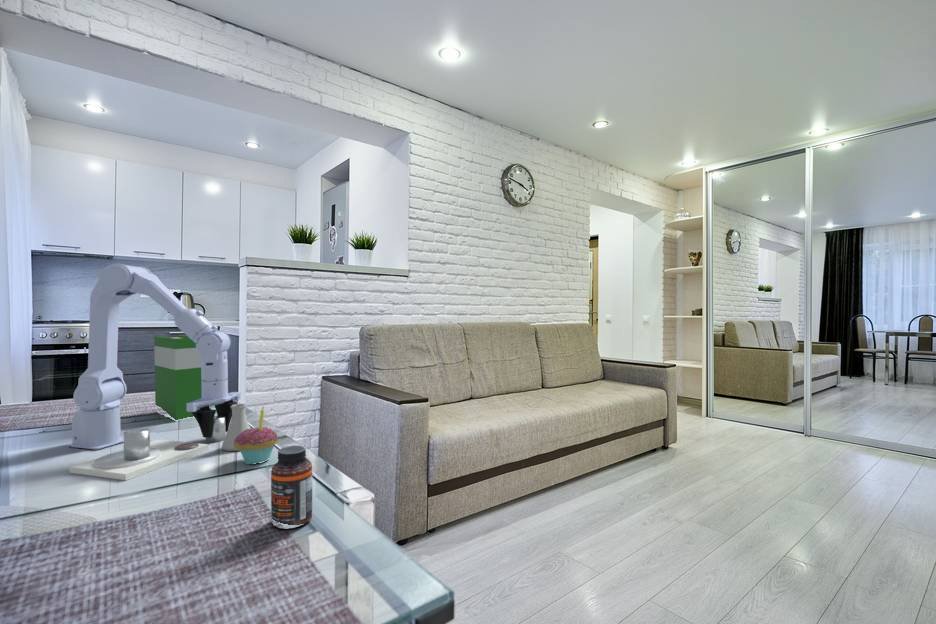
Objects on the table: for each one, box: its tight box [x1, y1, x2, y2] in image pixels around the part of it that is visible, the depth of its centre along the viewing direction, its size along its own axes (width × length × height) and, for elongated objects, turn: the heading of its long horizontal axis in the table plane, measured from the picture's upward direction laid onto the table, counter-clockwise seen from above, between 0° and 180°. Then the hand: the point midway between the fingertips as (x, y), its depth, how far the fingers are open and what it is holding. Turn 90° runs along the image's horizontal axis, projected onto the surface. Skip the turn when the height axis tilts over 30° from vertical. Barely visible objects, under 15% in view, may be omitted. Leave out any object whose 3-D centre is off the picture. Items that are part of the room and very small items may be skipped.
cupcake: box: [234, 406, 279, 465], centre depth 96 cm, size 9×8×12 cm
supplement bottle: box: [270, 445, 313, 525], centre depth 69 cm, size 6×6×11 cm
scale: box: [69, 438, 209, 481], centre depth 97 cm, size 15×19×2 cm
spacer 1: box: [123, 427, 151, 461], centre depth 94 cm, size 4×4×6 cm
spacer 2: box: [204, 415, 227, 444], centre depth 112 cm, size 4×4×6 cm
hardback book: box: [153, 334, 202, 420], centre depth 138 cm, size 18×7×24 cm, turn 51°
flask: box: [220, 403, 251, 452], centre depth 106 cm, size 7×7×10 cm
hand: (215, 434), depth 112 cm, fingers closed on spacer 2, 4 cm apart
